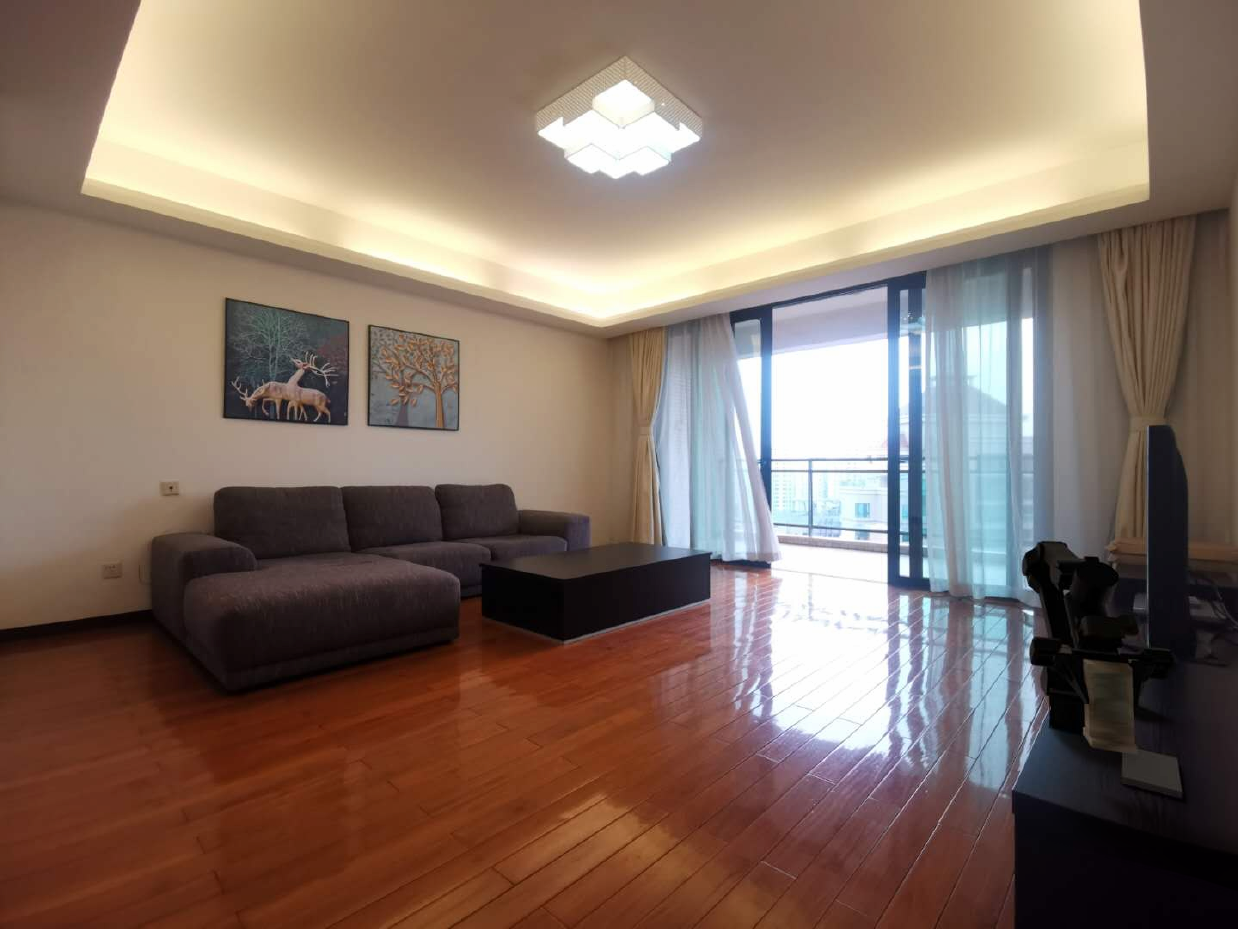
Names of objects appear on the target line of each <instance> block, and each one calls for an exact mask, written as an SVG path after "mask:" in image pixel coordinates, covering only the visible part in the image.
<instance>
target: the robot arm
mask: <svg viewBox="0 0 1238 929" xmlns="http://www.w3.org/2000/svg"><path fill="white" fill-rule="evenodd" d="M1021 572H1022V576H1024V577H1025V578H1026V583H1027V585H1028V587H1029V588H1030V589H1031V590H1033V591H1034V592H1035V593H1036V594H1038V597H1039V601H1040V606H1041V610H1042V614H1043V619H1044V626H1045V629H1046V632H1047V637H1046V636H1034V637H1033V638H1032V639H1031V641H1030V646H1029V650H1028V656H1029V661H1030V662H1029V663H1030V664H1031V665H1032V666H1035V667H1036V666H1037V667H1042V670H1041V673H1040V675H1039V676H1040V677H1039V682H1040V689H1041V690H1042V692H1043V693H1044V695H1045V696H1046V697H1048V713H1049V714H1048V715H1049V716H1048V718H1049V717H1050V718H1049V719H1048V722H1049V726H1052V727H1051V728H1053V727H1055V728H1054V729H1057V730H1063V731H1066V730H1067V731H1066V732H1072V733H1074V734H1080V735H1083V727H1085V704H1089V703H1090V700H1089V696H1088V691H1087V688H1086V685H1085V682H1084V664H1083V659H1087V660H1096V661H1105V662H1115V663H1124V664H1128V665H1129V666H1130V667H1131V668H1132V674H1133V710H1134V711H1136V712H1137V710H1138V709H1139V703H1140V697H1141V696H1140V689H1141V683H1142V682H1145V683H1147V682H1148V681H1149V680H1160V681H1167V680H1170V679H1171V677H1172V676H1173V673H1174V672H1175V670H1176V669H1177V667H1178V665H1179V662H1178V658H1177V656H1176V653H1175V652H1173V651H1172V650H1170V649H1169V648H1164V647H1161V648H1160V647H1152V646H1140V648H1139V650H1138V652H1137V653H1128V652H1127V653H1126V652H1120V651H1119V649H1122V648H1123V646H1124V643H1123V640H1125V639H1127V638H1126V637H1136V636H1137V635H1139V633H1140V630H1139V625H1138V621H1137V619H1136V616H1135V615H1134V614H1133V615H1132V614H1123V613H1121V614H1120V615H1118V616H1117V617H1116V616H1109V614H1108V610H1107V607H1106V605H1107V604H1109V603H1111V600H1112V597H1113V595H1114V592H1115V590H1116V587H1117V585H1118V582H1119V579H1120V575H1119V573H1118V571H1117V570H1116V569H1115V568H1113V567H1112V566H1111V565H1109V564H1108V563H1105V562H1102V561H1100V559H1099V556H1091V555H1090V556H1089V555H1084V556H1083V558H1082V557H1081V558H1080V557H1078V556H1077V555H1076V554H1075V553H1074V552H1073V551H1071V549H1070V548H1068V544H1067V543H1066V542H1063V541H1060V540H1058V541H1055V540H1040V541H1037V543H1036V545H1035V547H1033V548H1032V549H1030V550H1028V551H1027V552H1025V553H1024V554H1023V558H1022V561H1021ZM1064 591H1067V592H1066V593H1064ZM1139 696H1140V697H1139ZM1050 707H1051V710H1050ZM1049 710H1050V712H1049ZM1049 726H1048V727H1049Z"/></svg>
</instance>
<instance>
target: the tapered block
mask: <svg viewBox="0 0 1238 929" xmlns="http://www.w3.org/2000/svg"><path fill="white" fill-rule="evenodd" d="M1083 664H1084V682H1085V685H1086V688H1087V691H1088V696H1089V700H1090V703H1089V704H1085V727H1083V734H1082V735H1083V737H1084V738H1085V739H1086V741H1087V742H1088V743H1089V746H1090V747H1091V748H1093V749H1099V750H1106V751H1112V752H1116V753H1117V752H1118V753H1122V752H1123V753H1129V754H1136V755H1138V749H1139V748H1138V746H1137V745H1136V744H1135V724H1134V723H1135V718H1134V716H1135V715H1134V710H1133V674H1132V668H1131V667H1130V666H1129V665H1128V664H1124V663H1115V662H1105V661H1096V660H1087V659H1083Z"/></svg>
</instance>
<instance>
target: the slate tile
mask: <svg viewBox="0 0 1238 929" xmlns="http://www.w3.org/2000/svg"><path fill="white" fill-rule="evenodd" d="M1121 753H1122V758H1121V759H1122V760H1121V761H1122V762H1121V783H1122V782H1123V783H1127V784H1130V785H1136V786H1140V787H1144V788H1147V789H1152V790H1158V791H1168V792H1172V793H1176V794H1178V795H1182V796H1183V788H1182V787H1183V786H1182V783H1181V782H1182V781H1181V776H1180V770H1179V764H1178V763H1179V762H1178V758H1177V757H1174V756H1170V755H1165V754H1161V753H1156V752H1154V751H1153V752H1152V751H1149V750H1145V749H1144V750H1143V749H1140V748H1138V755H1136V754H1129V753H1123V752H1121Z"/></svg>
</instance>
